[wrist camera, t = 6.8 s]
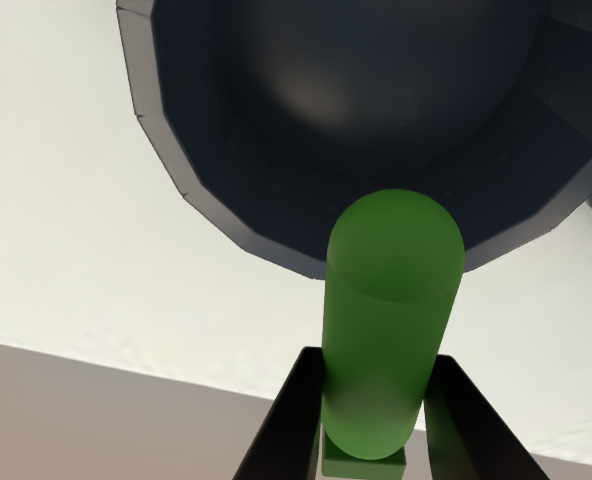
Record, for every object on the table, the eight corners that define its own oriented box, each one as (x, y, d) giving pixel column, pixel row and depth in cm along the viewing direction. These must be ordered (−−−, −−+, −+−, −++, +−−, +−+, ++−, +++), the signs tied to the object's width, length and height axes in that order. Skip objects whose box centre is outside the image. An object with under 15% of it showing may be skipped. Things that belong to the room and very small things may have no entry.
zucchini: (330, 163, 7) (329, 238, 5) (460, 167, 7) (502, 246, 5) (316, 419, 12) (313, 503, 10) (393, 425, 12) (404, 511, 10)
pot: (659, -69, 13) (881, -70, 8) (413, 229, 20) (440, 333, 15) (284, -349, 10) (231, -641, 5) (157, 108, 17) (81, 183, 12)
